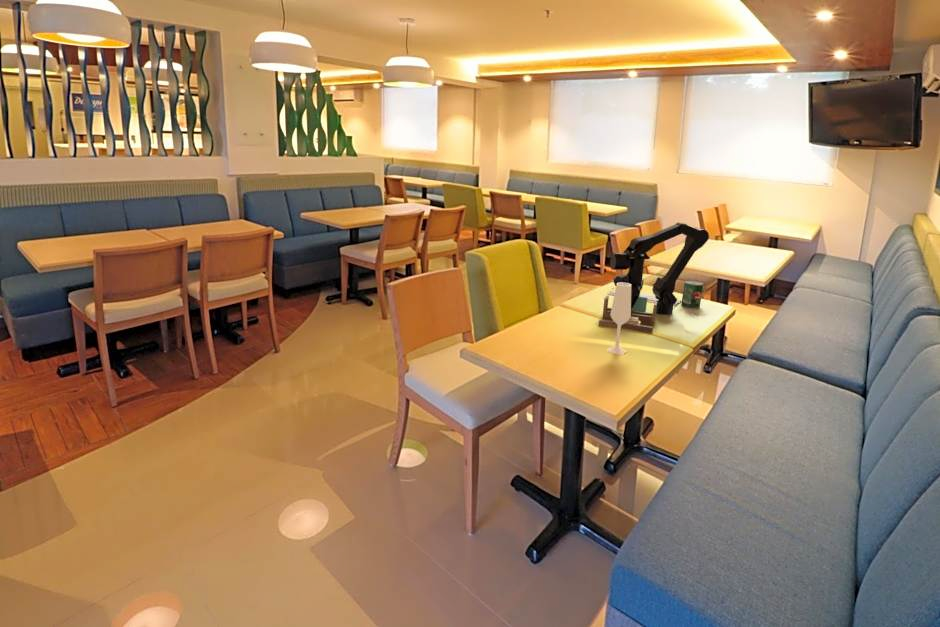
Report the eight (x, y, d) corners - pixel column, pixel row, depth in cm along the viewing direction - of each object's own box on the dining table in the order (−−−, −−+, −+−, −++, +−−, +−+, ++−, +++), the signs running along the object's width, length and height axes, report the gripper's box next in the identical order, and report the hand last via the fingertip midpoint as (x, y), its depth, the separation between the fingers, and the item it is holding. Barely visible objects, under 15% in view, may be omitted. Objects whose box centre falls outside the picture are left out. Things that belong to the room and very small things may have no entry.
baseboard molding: (673, 309, 240) (680, 303, 249) (674, 302, 239) (681, 297, 248) (606, 296, 257) (616, 291, 266) (607, 290, 256) (616, 285, 265)
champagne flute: (630, 352, 187) (638, 285, 179) (616, 355, 183) (624, 287, 176) (615, 346, 192) (623, 280, 185) (602, 349, 189) (609, 283, 181)
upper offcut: (616, 318, 213) (616, 315, 213) (637, 320, 211) (638, 317, 211) (616, 322, 208) (616, 319, 208) (638, 324, 207) (638, 321, 206)
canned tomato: (682, 302, 247) (685, 279, 244) (700, 305, 244) (704, 281, 240) (680, 307, 240) (683, 283, 237) (699, 309, 237) (703, 285, 234)
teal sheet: (615, 313, 229) (617, 293, 227) (644, 317, 225) (647, 296, 223) (614, 314, 228) (617, 294, 225) (644, 318, 224) (647, 297, 221)
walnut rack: (604, 315, 226) (607, 294, 223) (654, 321, 219) (657, 300, 217) (598, 328, 210) (600, 305, 207) (651, 335, 203) (654, 312, 201)
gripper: (618, 263, 231) (614, 298, 236) (612, 272, 215) (608, 309, 220) (645, 265, 228) (641, 301, 232) (641, 275, 211) (637, 313, 216)
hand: (631, 306), depth 225 cm, fingers open, 9 cm apart
